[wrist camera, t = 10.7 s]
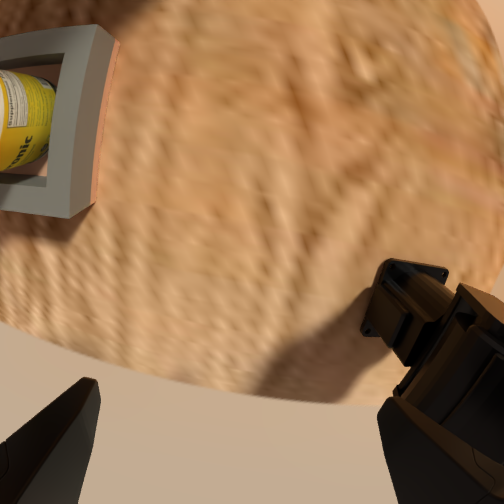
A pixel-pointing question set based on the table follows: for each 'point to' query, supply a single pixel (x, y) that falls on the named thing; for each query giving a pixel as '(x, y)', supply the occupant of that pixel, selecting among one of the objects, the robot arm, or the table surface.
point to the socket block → (62, 117)
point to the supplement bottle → (24, 118)
